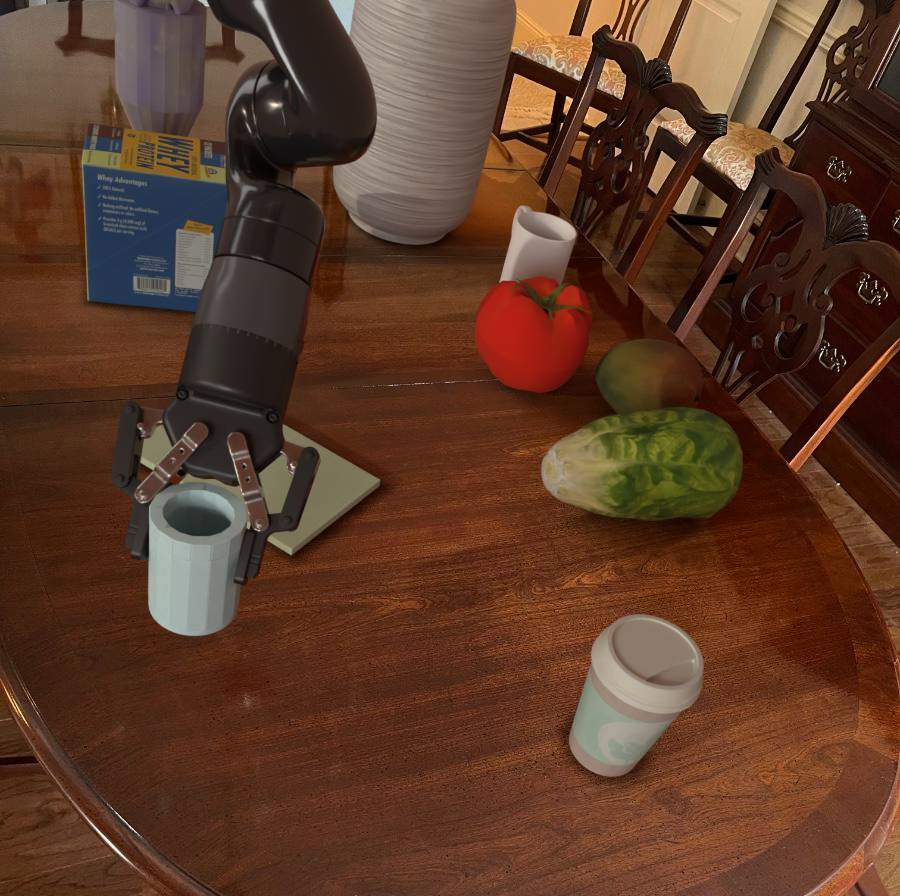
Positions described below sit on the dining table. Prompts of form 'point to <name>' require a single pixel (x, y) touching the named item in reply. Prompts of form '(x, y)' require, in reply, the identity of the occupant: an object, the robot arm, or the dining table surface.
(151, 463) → the mat
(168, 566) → the cylindrical container
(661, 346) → the fruit
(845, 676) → the dining table surface
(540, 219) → the mug
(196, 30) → the decorative object
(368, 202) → the vase
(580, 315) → the tomato
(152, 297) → the protein box
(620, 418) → the lettuce
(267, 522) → the robot arm
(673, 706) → the coffee cup
